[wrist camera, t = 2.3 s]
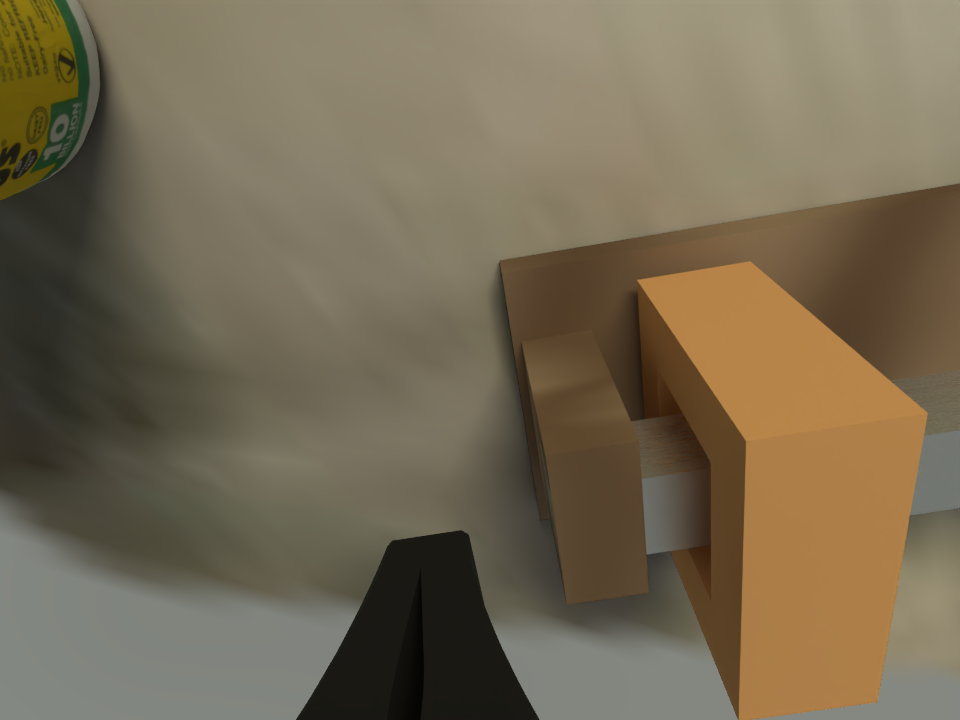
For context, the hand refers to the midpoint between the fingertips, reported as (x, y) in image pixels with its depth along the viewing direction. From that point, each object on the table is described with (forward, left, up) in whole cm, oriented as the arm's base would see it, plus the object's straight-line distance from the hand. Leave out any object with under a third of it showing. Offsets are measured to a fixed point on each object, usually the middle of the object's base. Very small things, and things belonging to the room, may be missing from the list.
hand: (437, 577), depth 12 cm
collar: (-6, 0, -5) cm, 8 cm away
